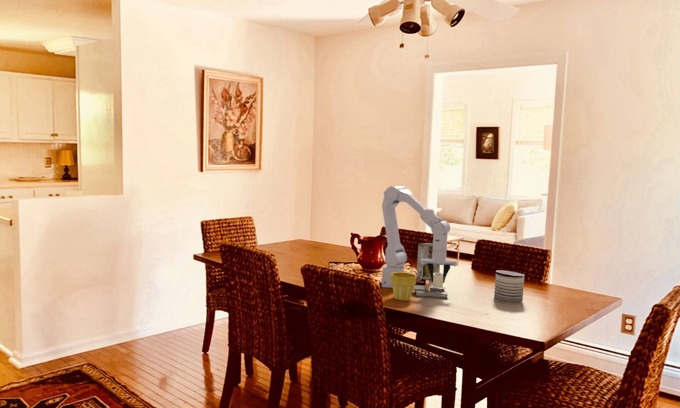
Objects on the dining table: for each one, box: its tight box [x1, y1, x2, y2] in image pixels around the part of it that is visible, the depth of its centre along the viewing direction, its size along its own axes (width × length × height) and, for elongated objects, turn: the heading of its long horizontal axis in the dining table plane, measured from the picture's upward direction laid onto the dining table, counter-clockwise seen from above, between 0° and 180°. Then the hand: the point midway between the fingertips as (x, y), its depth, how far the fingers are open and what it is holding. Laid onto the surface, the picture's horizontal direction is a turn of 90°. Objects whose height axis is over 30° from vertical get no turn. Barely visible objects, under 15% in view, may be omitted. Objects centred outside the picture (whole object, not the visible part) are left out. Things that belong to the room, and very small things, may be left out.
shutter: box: [413, 279, 430, 291], centre depth 235 cm, size 6×6×3 cm
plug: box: [432, 272, 444, 288], centre depth 234 cm, size 4×4×6 cm
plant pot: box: [391, 271, 418, 301], centre depth 226 cm, size 10×10×10 cm
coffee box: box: [416, 242, 441, 280], centre depth 264 cm, size 9×6×16 cm
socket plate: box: [415, 285, 449, 300], centre depth 235 cm, size 12×11×2 cm
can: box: [493, 269, 525, 305], centre depth 230 cm, size 11×11×12 cm
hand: (437, 281), depth 234 cm, fingers closed on plug, 4 cm apart
